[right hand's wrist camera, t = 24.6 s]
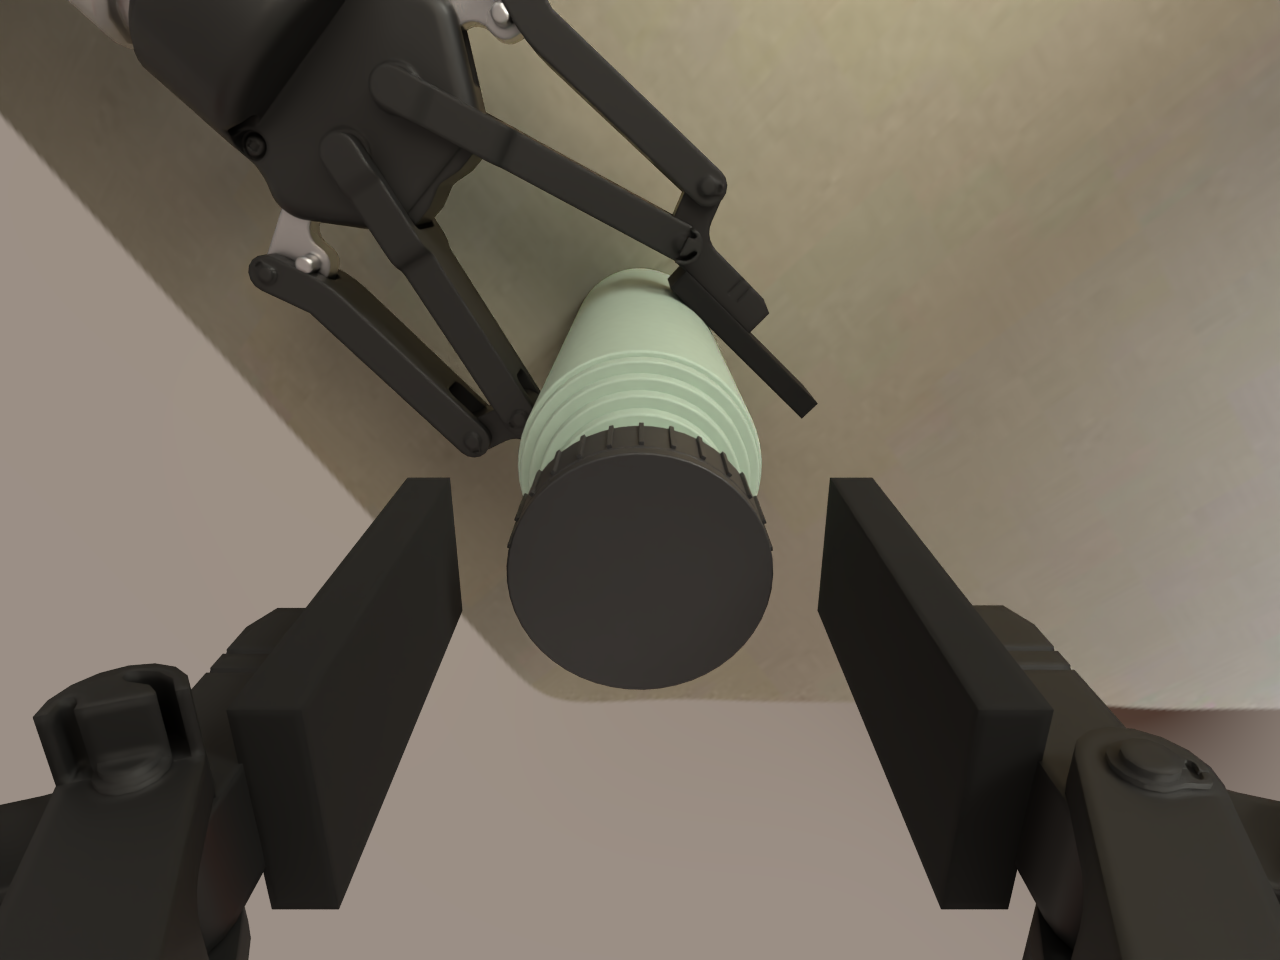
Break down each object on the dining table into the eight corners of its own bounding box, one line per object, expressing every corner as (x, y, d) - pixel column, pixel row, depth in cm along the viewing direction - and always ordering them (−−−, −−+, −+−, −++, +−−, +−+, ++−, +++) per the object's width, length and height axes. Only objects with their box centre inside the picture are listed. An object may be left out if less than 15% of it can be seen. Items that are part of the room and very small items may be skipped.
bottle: (602, 414, 35) (553, 725, 15) (555, 295, 33) (427, 470, 13) (721, 372, 35) (835, 638, 14) (679, 248, 33) (743, 356, 13)
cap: (706, 673, 16) (713, 724, 14) (485, 602, 15) (469, 647, 14) (804, 472, 14) (822, 505, 13) (562, 384, 14) (552, 409, 12)
